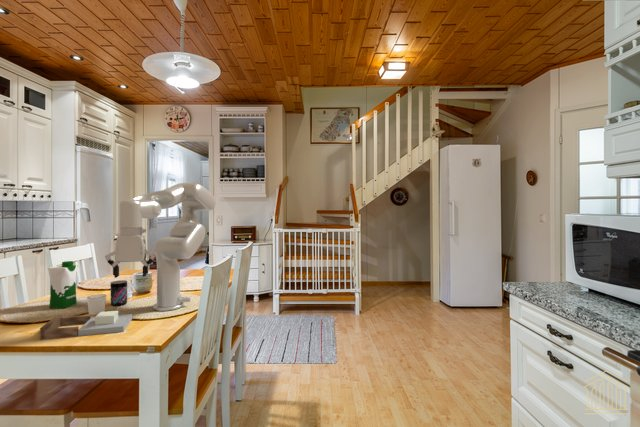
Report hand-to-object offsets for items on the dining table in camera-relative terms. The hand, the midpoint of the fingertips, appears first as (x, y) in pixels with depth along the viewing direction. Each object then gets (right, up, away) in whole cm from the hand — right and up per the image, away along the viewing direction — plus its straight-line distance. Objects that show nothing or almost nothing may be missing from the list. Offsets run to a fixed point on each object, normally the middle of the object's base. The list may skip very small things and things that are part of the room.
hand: (130, 276), depth 128 cm
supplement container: (-20, -18, +25) cm, 37 cm away
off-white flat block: (-8, -17, -2) cm, 18 cm away
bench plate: (-8, -19, -2) cm, 20 cm away
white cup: (-22, -18, +14) cm, 32 cm away
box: (-19, -19, -6) cm, 28 cm away
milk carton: (-43, -18, +22) cm, 51 cm away
